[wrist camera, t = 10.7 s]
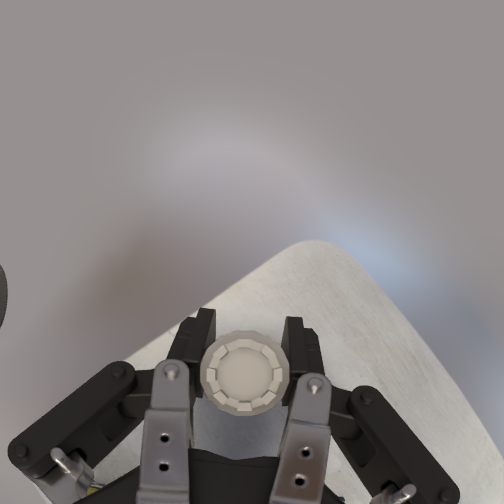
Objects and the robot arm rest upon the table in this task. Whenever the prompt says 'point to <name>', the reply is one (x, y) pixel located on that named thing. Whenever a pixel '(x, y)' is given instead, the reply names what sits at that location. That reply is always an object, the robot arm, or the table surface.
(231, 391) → the rook chess piece
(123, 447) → the table surface
